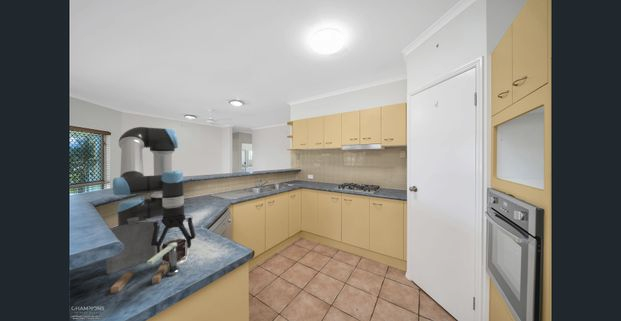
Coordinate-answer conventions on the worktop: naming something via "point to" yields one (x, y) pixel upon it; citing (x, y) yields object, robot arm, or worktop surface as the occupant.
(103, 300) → the worktop surface
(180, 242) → the box
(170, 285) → the worktop surface
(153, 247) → the hip flask
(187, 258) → the trivet
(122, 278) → the cradle
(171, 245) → the bar
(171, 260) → the latch post
